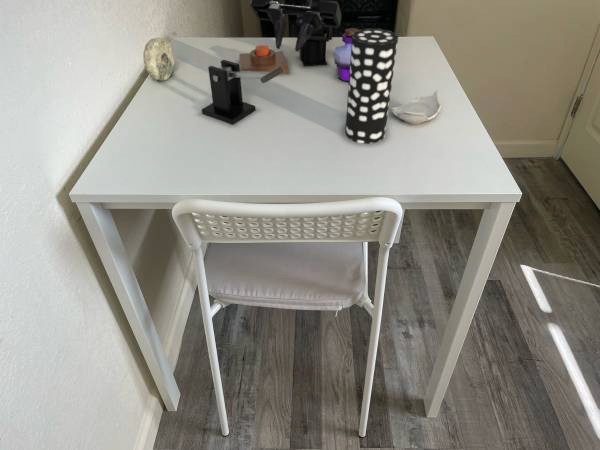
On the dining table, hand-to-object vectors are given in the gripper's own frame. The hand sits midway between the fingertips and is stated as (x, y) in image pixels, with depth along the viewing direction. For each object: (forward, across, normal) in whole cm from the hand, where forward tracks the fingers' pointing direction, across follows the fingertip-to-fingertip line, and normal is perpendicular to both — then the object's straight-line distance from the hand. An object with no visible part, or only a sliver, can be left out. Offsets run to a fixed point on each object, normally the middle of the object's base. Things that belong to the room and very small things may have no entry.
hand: (287, 49), depth 95 cm
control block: (-5, -14, +24) cm, 28 cm away
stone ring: (+6, -36, +14) cm, 39 cm away
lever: (+8, -6, -2) cm, 11 cm away
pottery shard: (+7, +28, +12) cm, 31 cm away
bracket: (+14, -12, +6) cm, 19 cm away
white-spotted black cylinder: (+14, +19, +6) cm, 24 cm away
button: (-7, -14, +22) cm, 27 cm away
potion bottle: (-5, +9, +25) cm, 27 cm away
